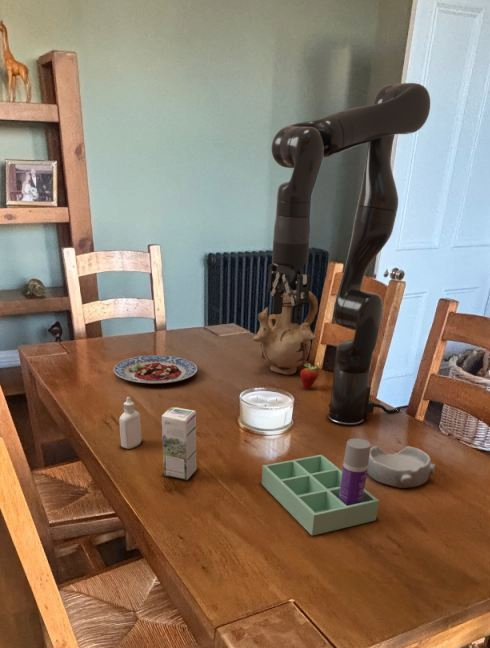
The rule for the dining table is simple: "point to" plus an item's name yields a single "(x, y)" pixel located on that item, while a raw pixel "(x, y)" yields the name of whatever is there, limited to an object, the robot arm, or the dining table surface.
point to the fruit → (308, 376)
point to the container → (354, 471)
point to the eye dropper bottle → (130, 426)
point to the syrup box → (179, 442)
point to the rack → (316, 494)
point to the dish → (400, 467)
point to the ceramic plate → (155, 369)
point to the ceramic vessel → (285, 337)
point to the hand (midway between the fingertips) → (285, 318)
